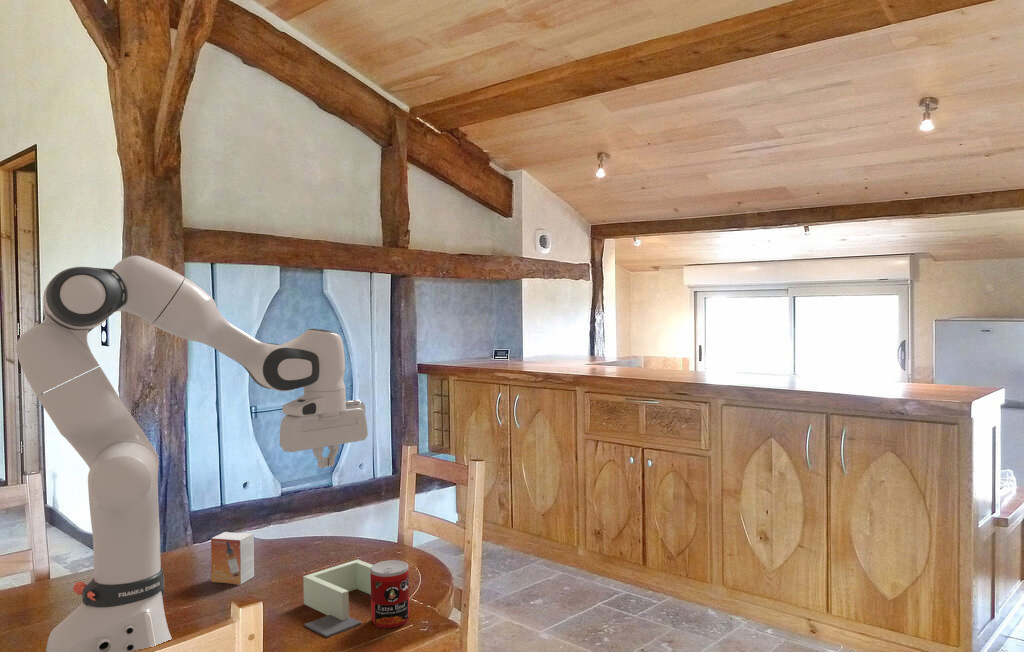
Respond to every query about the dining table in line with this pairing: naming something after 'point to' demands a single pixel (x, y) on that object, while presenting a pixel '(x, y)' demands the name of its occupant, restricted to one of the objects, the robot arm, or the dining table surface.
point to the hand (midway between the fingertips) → (326, 466)
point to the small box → (232, 558)
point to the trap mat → (331, 625)
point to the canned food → (389, 593)
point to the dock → (336, 587)
